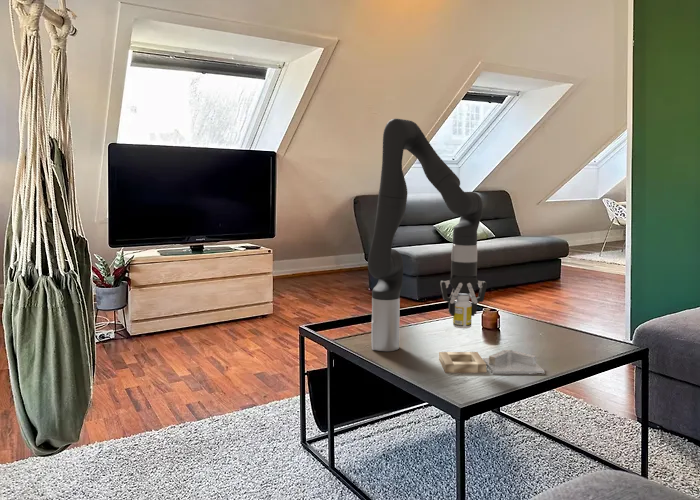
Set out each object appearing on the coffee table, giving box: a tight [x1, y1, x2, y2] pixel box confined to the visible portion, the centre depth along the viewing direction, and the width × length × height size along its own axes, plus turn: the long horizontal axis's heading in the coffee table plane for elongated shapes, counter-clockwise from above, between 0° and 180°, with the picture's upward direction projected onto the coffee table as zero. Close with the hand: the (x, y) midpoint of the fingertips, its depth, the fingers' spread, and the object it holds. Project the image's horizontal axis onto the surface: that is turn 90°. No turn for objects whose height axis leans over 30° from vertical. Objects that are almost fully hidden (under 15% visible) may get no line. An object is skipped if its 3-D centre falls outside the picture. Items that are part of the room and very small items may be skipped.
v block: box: [482, 349, 545, 375], centre depth 170 cm, size 15×12×4 cm
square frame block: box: [438, 351, 487, 374], centre depth 172 cm, size 12×12×2 cm
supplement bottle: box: [452, 293, 473, 329], centre depth 170 cm, size 5×5×10 cm
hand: (462, 315), depth 170 cm, fingers closed on supplement bottle, 5 cm apart
